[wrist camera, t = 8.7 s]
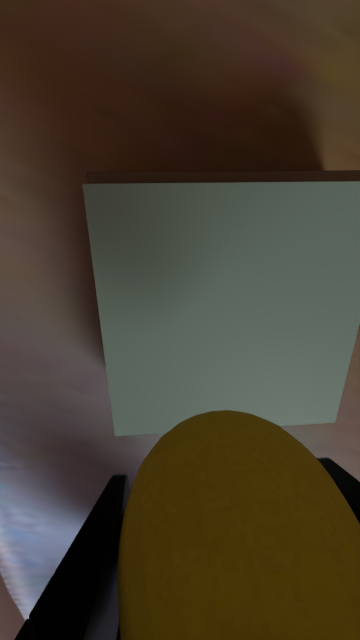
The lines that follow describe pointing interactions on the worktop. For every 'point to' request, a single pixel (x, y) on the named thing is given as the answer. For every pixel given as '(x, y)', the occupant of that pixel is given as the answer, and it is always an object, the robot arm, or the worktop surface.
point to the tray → (222, 177)
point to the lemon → (237, 539)
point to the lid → (225, 298)
